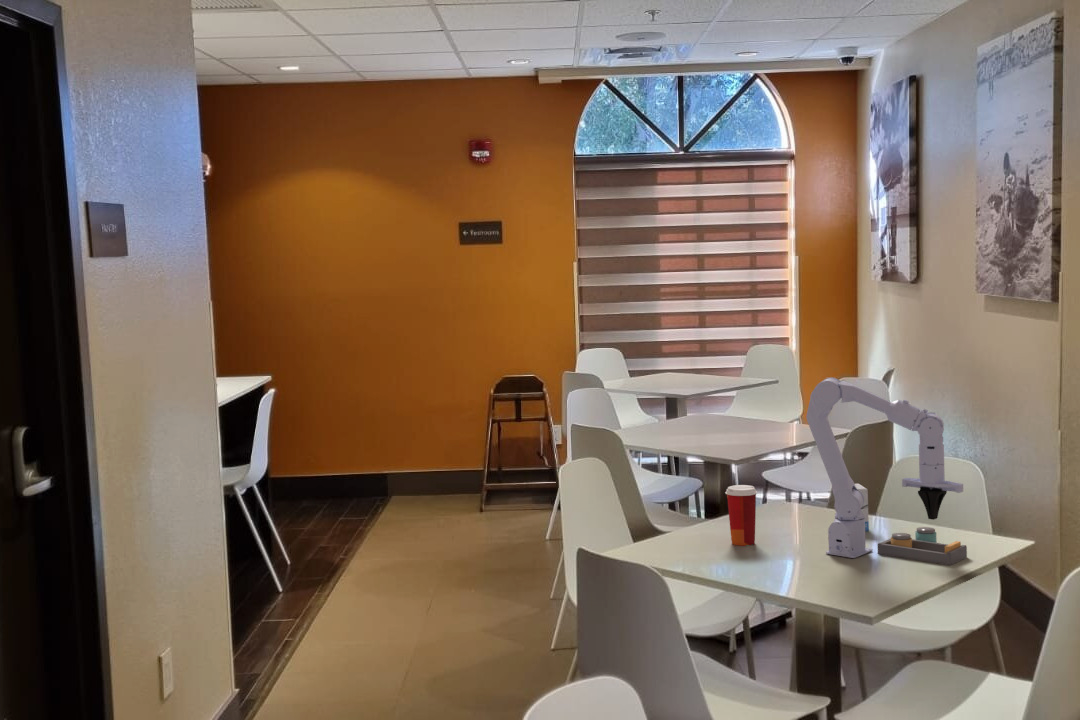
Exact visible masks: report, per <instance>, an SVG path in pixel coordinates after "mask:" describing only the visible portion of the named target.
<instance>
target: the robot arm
mask: <svg viewBox="0 0 1080 720" xmlns="http://www.w3.org/2000/svg"><path fill="white" fill-rule="evenodd" d="M840 400H841V401H840ZM839 401H840V402H841V404H842V403H843V404H844V403H852V402H855V403H858V404H861V405H863V406H865V407H867V408H871V409H873V410H876V411H879V412H880V413H883V414H885V415H886V418H887V420H888V421H889V422H890V423H893V424H895V425H898V426H899V427H902V428H905V429H907V430H910V431H911V432H917V433H918V435H919V444H918V467H919V469H918V470H919V471H918V473H919V474H918V475H919V477H918V478H911V477H905V478H904V477H903V478H902V479H901V486H902V487H903V488H907V487H908V488H918V489H919V490H918V491H917V494H918V496H919V497H920V499H921V501H922V503H923V505H924V506H923V507H924V508H925V511H926V515H927V518H928V520H933V521H934V520H937V519H938V516H939V512H940V508H941V505H942V502H943V501H944V498H945V496H946V495H947V493H948V492H954V493H957V494H960V493H963V492H964V483H960V482H955V481H949V480H945V479H946V476H945V444H944V443H943V442H944V436H943V433H944V431H945V427H944V426H945V425H944V420H943V419H942V417H941V416H940V415H938V414H936V412H933V411H931V412H929V410H928V409H926V408H923V409H921V408H919V407H917V406H914V405H912V404H910V401H909V400H907V399H905V398H904V399H903V400H901V399H895V400H894V401H889V400H888V399H885V398H884V397H882V396H879V395H877V394H875V393H873V392H870V391H869V390H866V389H865V388H862V387H860V386H858V385H856V384H854V383H851V382H848V381H844V380H839V379H838V378H836V377H826V378H824V379H823V380H822V381H820V382H819V383H818V384H816V386H815V387H814V389H813V390H812V392H811V393H810V397H809V402H808V408H807V412H806V421H807V425H808V427H809V428H810V432H811V434H812V437H813V439H814V442H815V445H816V448H817V449H818V452H819V455H820V458H821V460H822V463H823V465H824V467H825V468H824V469H825V471H826V473H827V475H828V479H829V481H830V484H831V490H832V495H833V497H834V510H835V513H834V520H833V522H832V523H831V524H830V525H829V527H828V529H827V530H828V531H827V533H828V534H827V535H828V550H827V551H825V554H827V555H834V556H839V557H844V558H851V559H856V558H859V557H860V556H863V555H866V554H868V553H870V552H873V548H871V547H870V548H869V547H867V546H866V531H865V515H864V514H863V513H862V511H861V508H862V506H863V504H864V497H863V494H862V493H861V492H860V491H859V490H858V489H857V488H856V486H855V484H856V483H855V481H854V480H853V479H852V477H851V476H850V472H849V471H848V468H847V465H846V462H845V461H844V458H843V456H842V452H841V450H840V448H839V445H838V442H837V439H836V438H835V435H834V432H833V429H832V426H831V425H830V422H829V419H828V417H829V415H830V414H831V412H832V410H833V408H834V406H835V405H836V404H837V403H838V402H839Z"/></svg>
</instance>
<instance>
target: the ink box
mask: <svg viewBox="0 0 1080 720" xmlns="http://www.w3.org/2000/svg"><path fill="white" fill-rule="evenodd" d="M854 484H855V486H856V488H857V489H858V490H859V491H860V492H861V493H862V494H863V497H864V504H863V506H862V508H861V511H862V513H863V514H864V515H865V532H867V531H870V525H869V524H870V522H869V493H868V490H869V489H868V488H866V487H864V486H863V485H861V484H860V483H854Z"/></svg>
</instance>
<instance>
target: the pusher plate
mask: <svg viewBox="0 0 1080 720" xmlns="http://www.w3.org/2000/svg"><path fill="white" fill-rule="evenodd" d="M961 544H962V543H961V541H958V540H956V541H953V542H951V543H949V544H948V545H947V546H945V553H947V552H948V551H950V550H953V549H955V548H957V547H959V546H961Z"/></svg>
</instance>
